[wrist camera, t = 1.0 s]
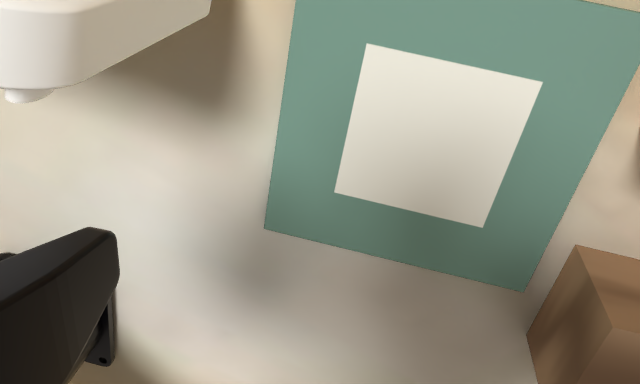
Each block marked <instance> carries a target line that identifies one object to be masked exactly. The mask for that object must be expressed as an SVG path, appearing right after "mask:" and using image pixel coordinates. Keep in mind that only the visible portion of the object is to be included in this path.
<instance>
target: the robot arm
mask: <svg viewBox="0 0 640 384" xmlns="http://www.w3.org/2000/svg"><path fill="white" fill-rule="evenodd" d="M119 275H120V268H119V258H118V248H117V239H116V236H115V234H114V233H113V232H111V231H108V230H103V229H99V228H94V227H86V228H83V229H81V230H78V231H76V232H73V233H71V234H68V235H65V236H63V237H60V238H58V239H55V240H53V241H50V242H48V243H45V244H42V245H40V246H37V247H35V248H32V249H30V250H27V251H24V252H22V253H19V254H17V255H14V256H11V255H8V254H3V253H1V254H0V384H68V383H69V381H70V380H71V379H72V377H73V376H74V375H75V373H76V372H77V370H78V369H79V368H80V366H81V365H82V364H83V362H84V361H86V362H89V363H93V364H97V365H101V366H105V367H107V366H110V365H111V363H112V362H113V361H114V358H115V354H114V336H113V319H112V301H111V296H112V294H113V292H114V290H115V288H116V286H117V283H118V280H119Z"/></svg>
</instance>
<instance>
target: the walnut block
mask: <svg viewBox="0 0 640 384" xmlns="http://www.w3.org/2000/svg"><path fill="white" fill-rule="evenodd" d="M526 336H527V340H528V344H529V348H530V352H531V356H532V360H533V364H534V368H535V372H536V377H537V381H538V384H640V260H638V259H634V258H630V257H625V256H621V255H617V254H613V253H609V252H604V251H600V250H596V249H592V248H588V247H583V246H579V245H575V246H574V248H573V250H572V252H571V254H570V256H569V257H568V259H567V261H566V263H565V265H564V267H563V268H562V270H561V272H560V274H559V276H558V278H557V279H556V281H555V283H554V285H553V287H552V289H551V290H550V292H549V294H548V296H547V298H546V300H545V302H544V303H543V305H542V307H541V309H540V311H539V313H538V314H537V316H536V318H535V320H534V322H533V324H532V325H531V327H530V329H529V331H528V333H527V335H526Z"/></svg>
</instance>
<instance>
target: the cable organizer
mask: <svg viewBox="0 0 640 384" xmlns="http://www.w3.org/2000/svg"><path fill="white" fill-rule="evenodd" d="M211 1H212V0H0V88H1V89H5V99H6V100H8V101H9V102H12V103H29V102H33V101H37V100H39V99H42V98H44V97H46V96H47V95H49V94H50V93H52V92H53V90H54V89H57V88H62V87H67V86H72V85H75V84H77V83H80V82H82V81H84V80H86V79H88V78H90V77H92V76H94V75H96V74H98V73H100V72H101V71H103V70H105V69H107V68H109V67H111V66H113V65H115V64H117V63H119V62H120V61H122V60H124V59H126V58H128V57H130V56H132V55H134V54H136V53H137V52H139V51H141V50H143V49H145V48H147V47H149V46H151V45H153V44H155V43H156V42H158V41H160V40H162V39H164V38H166V37H168V36H170V35H172V34H173V33H175V32H177V31H179V30H181V29H183V28H185V27H187V26H189V25H191V24H192V23H194V22H196V21H198V20H200V19H202V18H204V17H206V16H207V15H208V14H209V11H210V6H211Z"/></svg>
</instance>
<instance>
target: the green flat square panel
mask: <svg viewBox="0 0 640 384" xmlns="http://www.w3.org/2000/svg"><path fill="white" fill-rule="evenodd" d="M639 64H640V12H636V11H631V10H626V9H622V8H617V7H612V6H607V5H603V4H598V3H593V2H588V1H583V0H296V3H295V11H294V18H293V25H292V32H291V39H290V46H289V53H288V60H287V67H286V75H285V82H284V89H283V96H282V103H281V110H280V117H279V124H278V131H277V139H276V146H275V153H274V160H273V167H272V174H271V181H270V188H269V195H268V203H267V210H266V217H265V224H264V229H267V230H271V231H275V232H279V233H283V234H287V235H291V236H295V237H300V238H304V239H308V240H312V241H316V242H320V243H324V244H328V245H332V246H336V247H340V248H344V249H348V250H353V251H357V252H361V253H365V254H369V255H373V256H377V257H381V258H385V259H389V260H393V261H397V262H401V263H406V264H410V265H414V266H418V267H422V268H426V269H430V270H434V271H438V272H442V273H446V274H450V275H455V276H459V277H463V278H467V279H471V280H475V281H479V282H483V283H487V284H491V285H495V286H499V287H503V288H508V289H512V290H516V291H520V292H524V291H525V289H526V287H527V285H528V283H529V281H530V279H531V277H532V275H533V273H534V271H535V269H536V267H537V265H538V263H539V261H540V259H541V257H542V255H543V253H544V251H545V249H546V247H547V245H548V243H549V241H550V239H551V237H552V235H553V233H554V232H555V230H556V228H557V226H558V224H559V222H560V220H561V218H562V216H563V214H564V212H565V210H566V208H567V206H568V204H569V202H570V200H571V198H572V196H573V194H574V192H575V190H576V188H577V186H578V184H579V182H580V180H581V178H582V176H583V174H584V172H585V170H586V169H587V167H588V165H589V163H590V161H591V159H592V157H593V155H594V153H595V151H596V149H597V147H598V145H599V143H600V141H601V139H602V137H603V135H604V133H605V131H606V129H607V127H608V125H609V123H610V121H611V119H612V117H613V115H614V113H615V111H616V109H617V107H618V106H619V104H620V102H621V100H622V98H623V96H624V94H625V92H626V90H627V88H628V86H629V84H630V82H631V80H632V78H633V76H634V74H635V72H636V70H637V68H638V66H639Z"/></svg>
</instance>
